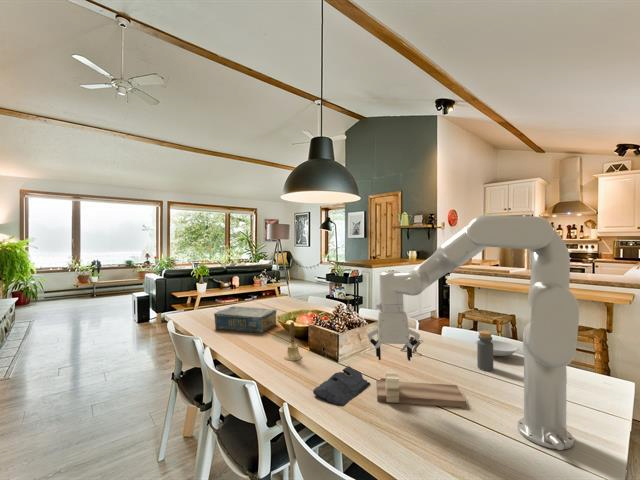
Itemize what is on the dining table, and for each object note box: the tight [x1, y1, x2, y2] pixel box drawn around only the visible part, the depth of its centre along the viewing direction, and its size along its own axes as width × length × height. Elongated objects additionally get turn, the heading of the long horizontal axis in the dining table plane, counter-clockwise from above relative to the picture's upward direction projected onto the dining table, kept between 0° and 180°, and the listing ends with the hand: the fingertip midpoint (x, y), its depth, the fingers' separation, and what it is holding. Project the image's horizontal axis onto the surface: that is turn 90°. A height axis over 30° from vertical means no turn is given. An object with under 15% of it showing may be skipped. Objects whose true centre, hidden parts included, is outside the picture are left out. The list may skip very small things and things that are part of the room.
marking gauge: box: [385, 371, 400, 404], centre depth 108 cm, size 10×4×8 cm, turn 171°
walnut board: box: [375, 379, 467, 408], centre depth 108 cm, size 11×28×2 cm, turn 81°
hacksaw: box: [400, 336, 423, 357], centre depth 155 cm, size 24×10×2 cm, turn 151°
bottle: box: [476, 330, 494, 372], centre depth 130 cm, size 6×6×15 cm
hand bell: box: [283, 321, 303, 362], centre depth 143 cm, size 8×8×16 cm
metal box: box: [213, 305, 278, 334], centre depth 193 cm, size 21×32×10 cm, turn 72°
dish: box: [474, 339, 520, 357], centre depth 143 cm, size 18×14×5 cm
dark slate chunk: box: [312, 365, 371, 407], centre depth 113 cm, size 15×22×5 cm
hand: (394, 358), depth 105 cm, fingers open, 9 cm apart
